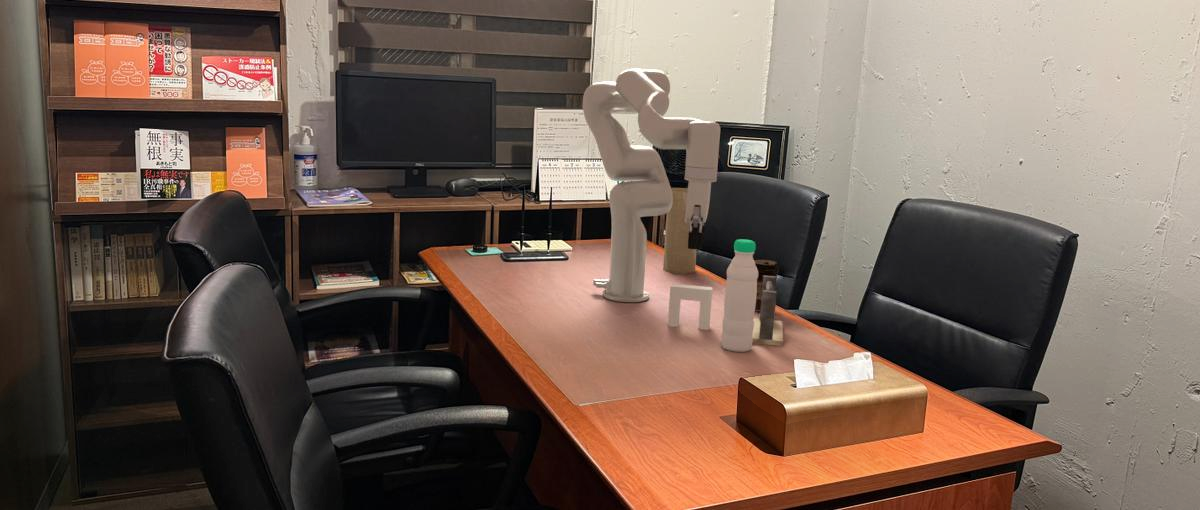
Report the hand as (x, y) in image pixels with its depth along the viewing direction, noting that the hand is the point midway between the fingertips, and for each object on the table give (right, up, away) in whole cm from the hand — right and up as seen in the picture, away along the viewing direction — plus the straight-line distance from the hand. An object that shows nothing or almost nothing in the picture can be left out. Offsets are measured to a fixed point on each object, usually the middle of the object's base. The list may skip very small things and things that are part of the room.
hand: (695, 245), depth 210 cm
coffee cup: (+19, -17, +23) cm, 34 cm away
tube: (+2, -7, +63) cm, 64 cm away
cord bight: (-1, -20, +4) cm, 20 cm away
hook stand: (+17, -21, +1) cm, 27 cm away
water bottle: (+8, -24, -11) cm, 27 cm away
